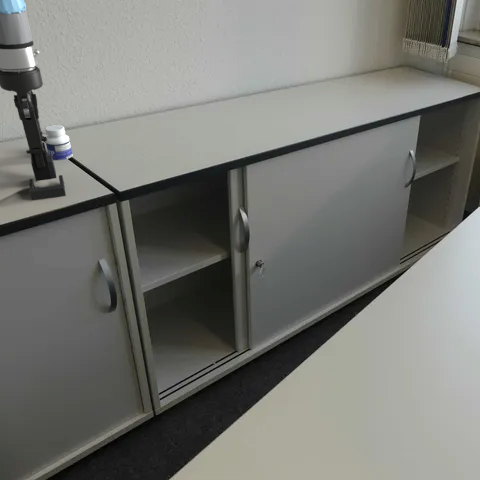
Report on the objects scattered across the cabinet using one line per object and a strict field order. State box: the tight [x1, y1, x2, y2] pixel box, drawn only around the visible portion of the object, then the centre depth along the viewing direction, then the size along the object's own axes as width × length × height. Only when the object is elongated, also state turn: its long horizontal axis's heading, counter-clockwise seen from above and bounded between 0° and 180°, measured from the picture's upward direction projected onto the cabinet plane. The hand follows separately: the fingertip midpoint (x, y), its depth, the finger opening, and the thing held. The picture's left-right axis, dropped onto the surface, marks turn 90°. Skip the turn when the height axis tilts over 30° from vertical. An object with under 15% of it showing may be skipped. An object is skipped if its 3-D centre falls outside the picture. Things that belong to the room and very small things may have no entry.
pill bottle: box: [44, 124, 74, 161], centre depth 132 cm, size 5×5×9 cm
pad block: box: [30, 154, 57, 182], centre depth 119 cm, size 4×4×4 cm
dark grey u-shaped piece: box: [28, 174, 67, 201], centre depth 120 cm, size 7×7×2 cm
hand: (44, 174), depth 119 cm, fingers closed on pad block, 4 cm apart
